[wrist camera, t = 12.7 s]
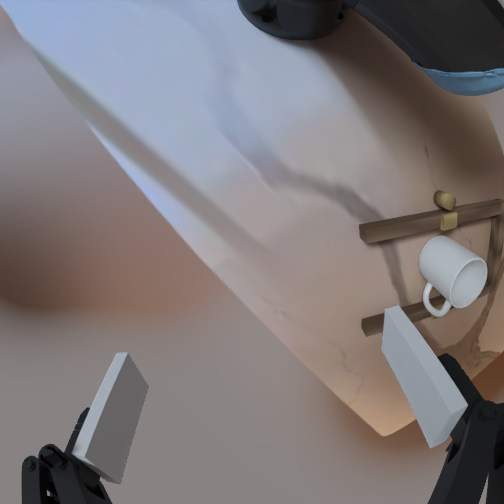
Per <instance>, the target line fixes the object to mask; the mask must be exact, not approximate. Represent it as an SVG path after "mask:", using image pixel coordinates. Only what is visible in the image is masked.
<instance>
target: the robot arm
mask: <svg viewBox="0 0 504 504" xmlns="http://www.w3.org/2000/svg"><path fill="white" fill-rule="evenodd" d="M359 1H360V0H237V3H238V6H239V8H240V10H241V12H242V13H243V15H244V16H245V17H246V18H247V19H248V20H249V21H250V22H251V23H252V24H253V25H255V26H256V27H258V28H259V29H261V30H263V31H265V32H267V33H269V34H272V35H274V36H278V37H281V38H286V39H293V40H309V39H315V38H319V37H322V36H325V35H327V34H329V33H331V32H332V31H334V30H335V29H336V28H337V27H338V26H339V25H340V24H341V23H342V22H343V21H344V19H345V18H346V16H347V14H348V12H349V8H350V7H351V8H352V9H353V10H355V11H356V12H357V13H359V14H360V15H361V16H363V17H364V18H365V19H367V20H368V21H369V22H370V23H372V24H373V25H374V26H375V27H377V28H378V29H379V30H380V31H381V32H383V33H384V34H385V35H386V36H387V37H388V38H389V39H391V40H392V41H393V42H394V43H395V44H396V45H397V46H398V47H399V48H400V49H402V50H403V51H404V52H405V53H406V54H407V55H408V56H409V57H410V58H411V61H412V62H413V63H414V64H415V65H416V66H417V67H419V68H420V69H422V70H424V71H425V72H426V73H427V74H428V75H429V76H430V77H431V78H432V79H433V80H434V81H435V82H436V84H438V85H439V86H440V87H441V88H443V89H444V90H447V91H450V92H452V93H454V94H458V95H465V96H476V95H483V94H488V93H492V92H495V91H498V90H500V89H503V88H504V0H361V1H360V2H359ZM381 350H382V352H383V354H384V356H385V357H386V359H387V361H388V363H389V365H390V367H391V369H392V371H393V372H394V374H395V376H396V378H397V380H398V382H399V384H400V386H401V388H402V390H403V392H404V394H405V396H406V398H407V400H408V402H409V404H410V406H411V408H412V410H413V412H414V414H415V416H416V419H417V420H418V423H419V425H420V427H421V429H422V431H423V434H424V436H425V438H426V440H427V442H428V445H429V447H430V448H432V447H434V446H436V445H439V444H441V443H443V442H445V441H446V440H447V438H448V436H449V435H451V437H452V442H451V443H450V444H449V446H448V447H447V449H446V451H448V450H449V451H448V454H447V457H446V460H445V463H444V466H443V469H442V471H441V474H440V476H439V479H438V482H437V484H436V486H435V489H434V491H433V493H432V495H431V498H430V500H429V502H428V504H479V501H480V498H481V495H482V492H483V489H484V486H485V483H486V479H487V476H488V488H487V498H486V504H504V403H500V404H495V403H494V402H491V401H485V400H484V399H483V398H482V397H481V395H480V393H479V392H478V390H477V389H476V387H475V386H474V385H473V383H472V382H471V380H470V379H469V377H468V376H467V375H466V373H465V372H464V370H463V369H461V366H460V365H459V363H458V362H457V361H456V359H455V358H453V357H452V356H450V355H449V354H447V353H445V354H443V355H441V356H438V357H436V355H435V354H434V352H433V351H432V350H431V348H430V347H429V345H428V344H427V343H426V341H425V340H424V338H423V337H422V336H421V334H420V333H419V332H418V330H417V329H416V328H415V326H414V325H413V324H412V322H411V321H410V320H409V318H408V317H407V316H406V314H405V313H404V312H403V311H402V309H401V308H400V307H399V305H398V306H394V307H391V308H387V309H385V316H384V328H383V339H382V348H381ZM148 388H149V386H148V385H147V383H146V381H145V380H144V378H143V376H142V375H141V373H140V372H139V370H138V368H137V367H136V365H135V363H134V362H133V360H132V358H131V357H130V355H129V353H117V354H116V355H115V357H114V359H113V362H112V363H111V366H110V367H109V370H108V372H107V374H106V376H105V378H104V380H103V382H102V384H101V386H100V388H99V390H98V393H97V395H96V397H95V399H94V402H93V404H92V406H91V408H86V409H85V410H84V411H83V413H82V414H81V415H80V417H79V419H78V422H77V424H76V426H75V430H74V431H73V433H72V435H71V438H70V440H69V442H68V445H67V447H66V450H65V452H64V453H63V452H62V451H61V450H60V449H59V448H58V447H56V446H55V445H54V444H48V445H45V446H44V447H42V449H41V450H40V452H39V455H38V458H36V457H35V456H29V457H27V458H26V459H25V460H24V462H23V465H22V504H112V502H111V500H110V498H109V497H108V494H107V492H106V490H105V488H104V486H103V485H102V483H101V482H100V481H99V480H100V476H101V477H102V478H103V479H105V480H106V481H108V482H112V483H116V484H121V481H122V477H123V473H124V469H125V465H126V462H127V458H128V455H129V451H130V447H131V444H132V440H133V437H134V433H135V430H136V427H137V423H138V420H139V417H140V413H141V410H142V407H143V404H144V401H145V397H146V394H147V391H148ZM488 472H489V474H488ZM47 490H48V491H49V492H50V496H47Z"/></svg>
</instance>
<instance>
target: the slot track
mask: <svg viewBox="0 0 504 504" xmlns="http://www.w3.org/2000/svg"><path fill="white" fill-rule="evenodd" d="M434 202H435V204H436V205H438V206H441V207H443V208H445V209H441V210H435V211H430V212H424V213H419V214H414V215H408V216H403V217H398V218H392V219H387V220H382V221H376V222H371V223H366V224H361V225H359V230H360V238H361V239H362V240H363V241H364V242H365V243H366V244H368V243H372V242H377V241H382V240H387V239H391V238H396V237H401V236H405V235H410V234H415V233H419V232H424V231H428V230H433V229H437V228H441V229H442V230H443V231H444V230H449V229H453V228H457V224H460V223H464V222H469V221H473V220H477V219H482V218H486V217H490V216H492V225H491V235H490V244H489V252H488V258H487V279H486V282H485V285H484V287H483V289H482V291H481V293H480V294H479V296H478V297H477V298H479V297H482V296H484V295H486V294H488V293H491V292H493V291H494V290H495V286H496V281H497V277H498V272H499V266H500V261H501V255H502V249H503V241H504V201H503V200H500V199H496V200H490V201H485V202H479V203H473V204H468V205H462V206H457V207H455V205H456V199H455V197H454V196H453V195H451V194H448V193H445V192H443V191H440V190H439V191H437V192H436V193H435V194H434ZM477 298H476V299H477ZM445 301H446V298H445V297H444V296H443V295H441V296H438V297H435V298H432V299H429V302H430V304H431V305H432V306H433V307H434V308H435V309H437V310H441V308H442V307H443V305H444V303H445ZM452 308H455V307H454V306H453V305H451V307H450V309H452ZM401 309H402V311H403V312H404V313H405V314H406V316H407V317H408V318H409V320H410V321H411V322H412V323H413V322H416V321H419V320H422V319H425V318H428V317H431V318H432V319H436V318H439V317H437V316H434V315H432V314H431V313H430V312H429V311H428V310H427V309H426V307H425V305H424V303H423V302H419V303H416V304H413V305H410V306H407V307H403V308H401ZM450 309H449V310H450ZM384 316H385V313H383V314H379V315H375V316H372V317H368V318H364V319H362V330H363V332H364V334H365V335H366V337H367V336H370V335H374V334H377V333H381V332H383V328H384Z"/></svg>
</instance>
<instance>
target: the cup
mask: <svg viewBox="0 0 504 504" xmlns="http://www.w3.org/2000/svg"><path fill="white" fill-rule="evenodd" d="M419 270H420V272H421V274H422V276H423V277H424V278H425V279H426V280H427V281H428V282H427V284H426V286H425V289H424V292H423V303H424V305H425V307H426V309H427V310H428V311H429V312H430V313H431V314H432V315H434V316H437V317H441V316H444V315H445V314H446V313H447V312H448V311H449V309H450V307H451V305H453V306H454V307H456V308H464V307H466V306H468V305H470V304H471V303H472V302H473V301H474V300H475V299H476V298H477V297H478V296H479V294H480V293H481V291H482V289H483V287H484V285H485V282H486V279H487V265H486V263H485V261H484V260H483V259H482V258H480V257H479V256H477V255H476V254H474V253H473V252H471V251H470V250H468V249H467V248H465V247H464V246H462V245H461V244H459V243H457V242H456V241H454V240H453V239H451V238H449V237H447V236H444V235H438V236H435V237H433V238H431V239H430V240H429V241H428V242H427V243H426V244H425V245H424V247H423V249H422V251H421V253H420V256H419ZM433 287H434V288H436V289H437V290H438V291H439V292H440V293H441V294H442V295H443V296H444V297H445V298H446V301H445V303H444V305H443V307H442V308H441V310H437V309H435V308H434V307H433V306H432V305H431V304H430V302H429V294H430V291H431V289H432V288H433Z"/></svg>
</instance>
